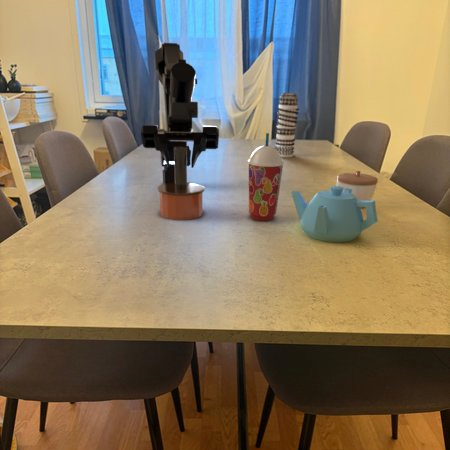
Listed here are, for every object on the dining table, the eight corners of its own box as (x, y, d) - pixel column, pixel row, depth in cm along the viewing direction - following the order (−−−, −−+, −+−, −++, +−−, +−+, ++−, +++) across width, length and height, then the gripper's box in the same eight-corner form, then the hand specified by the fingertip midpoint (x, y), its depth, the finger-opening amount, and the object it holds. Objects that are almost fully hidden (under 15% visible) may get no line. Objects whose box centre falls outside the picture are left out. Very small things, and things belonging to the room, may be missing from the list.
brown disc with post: (181, 184, 115) (181, 142, 110) (213, 192, 108) (214, 148, 103) (148, 192, 107) (145, 147, 102) (180, 201, 101) (179, 153, 96)
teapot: (311, 247, 91) (318, 197, 86) (286, 225, 104) (291, 179, 99) (376, 243, 94) (386, 194, 89) (344, 222, 107) (351, 178, 102)
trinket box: (346, 198, 128) (351, 165, 124) (379, 205, 121) (386, 171, 117) (326, 204, 121) (330, 170, 117) (360, 212, 115) (366, 177, 110)
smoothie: (281, 215, 111) (289, 132, 102) (274, 224, 104) (281, 136, 95) (250, 211, 114) (255, 130, 104) (241, 220, 107) (245, 134, 97)
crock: (194, 206, 117) (193, 183, 114) (208, 217, 108) (208, 193, 105) (155, 209, 113) (154, 186, 110) (167, 221, 104) (166, 196, 101)
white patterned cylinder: (295, 157, 188) (302, 94, 176) (274, 156, 188) (279, 93, 176) (293, 154, 196) (298, 93, 184) (272, 153, 196) (277, 92, 184)
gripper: (138, 87, 100) (136, 144, 95) (219, 89, 101) (221, 146, 96) (144, 120, 110) (142, 173, 106) (217, 122, 112) (218, 174, 107)
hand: (180, 166), depth 104 cm, fingers open, 5 cm apart
